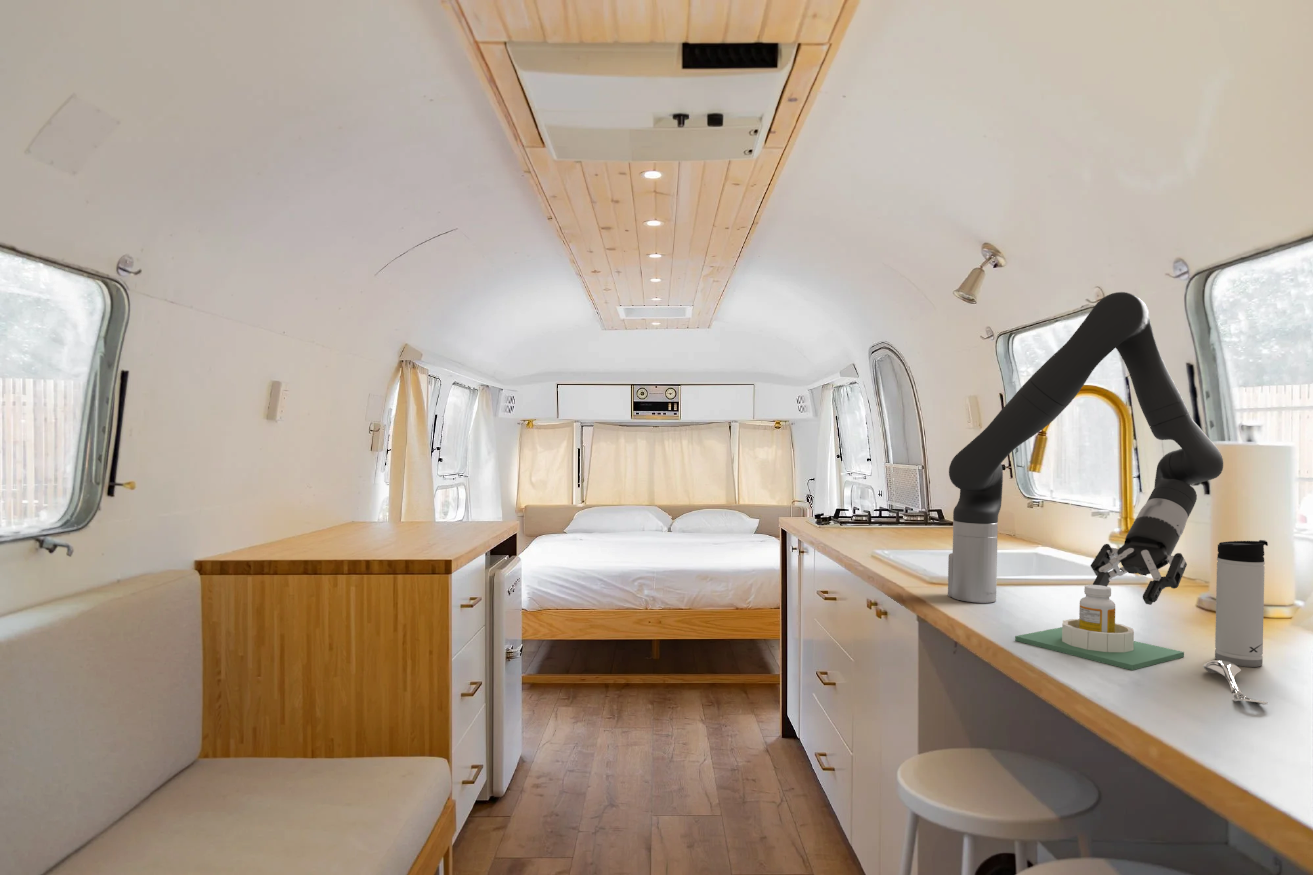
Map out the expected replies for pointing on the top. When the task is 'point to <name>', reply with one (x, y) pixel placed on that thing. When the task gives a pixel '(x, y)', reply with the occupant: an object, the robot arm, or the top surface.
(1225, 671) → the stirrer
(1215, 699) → the top surface
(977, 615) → the top surface
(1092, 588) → the supplement bottle
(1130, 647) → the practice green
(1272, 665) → the top surface
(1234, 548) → the travel mug
